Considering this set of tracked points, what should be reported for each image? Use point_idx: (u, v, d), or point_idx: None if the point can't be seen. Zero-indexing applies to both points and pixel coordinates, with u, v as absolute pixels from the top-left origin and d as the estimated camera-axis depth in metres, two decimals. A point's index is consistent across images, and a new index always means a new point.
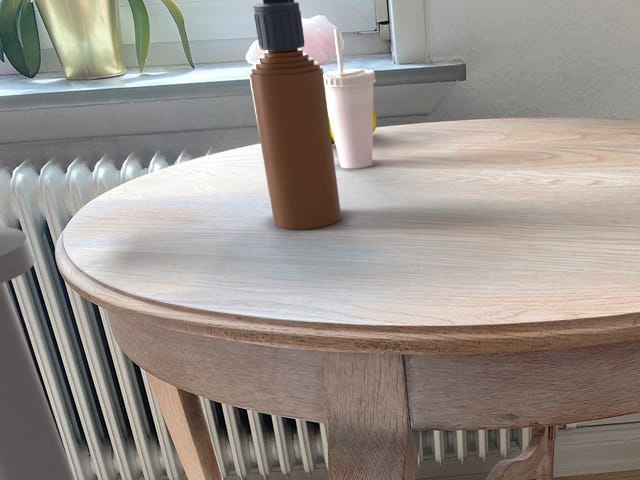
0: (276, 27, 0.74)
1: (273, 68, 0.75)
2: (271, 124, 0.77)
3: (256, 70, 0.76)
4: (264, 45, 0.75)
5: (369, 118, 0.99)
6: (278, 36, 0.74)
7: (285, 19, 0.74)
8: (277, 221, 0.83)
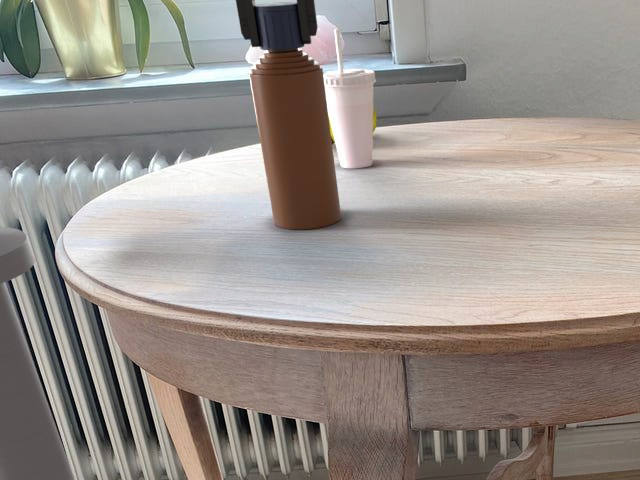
0: (276, 27, 0.74)
1: (273, 68, 0.75)
2: (271, 124, 0.77)
3: (256, 70, 0.76)
4: (264, 45, 0.75)
5: (369, 117, 0.99)
6: (278, 36, 0.74)
7: (285, 19, 0.74)
8: (277, 221, 0.83)
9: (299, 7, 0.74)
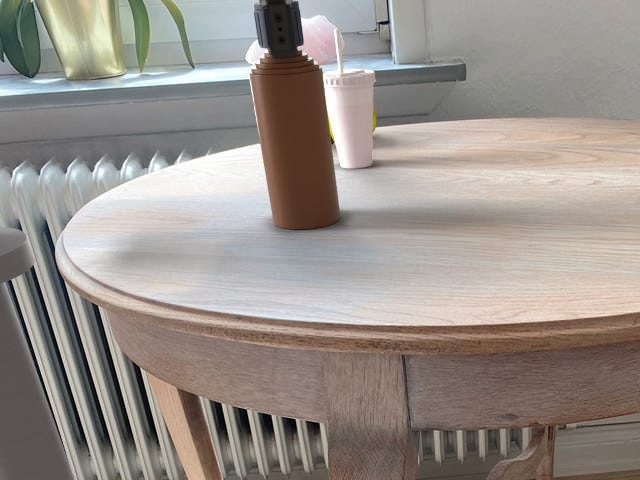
0: (300, 22, 0.76)
1: (273, 68, 0.75)
2: (270, 124, 0.77)
3: (256, 70, 0.76)
4: None
5: (369, 117, 0.99)
6: (302, 31, 0.76)
7: None
8: (276, 221, 0.83)
9: None
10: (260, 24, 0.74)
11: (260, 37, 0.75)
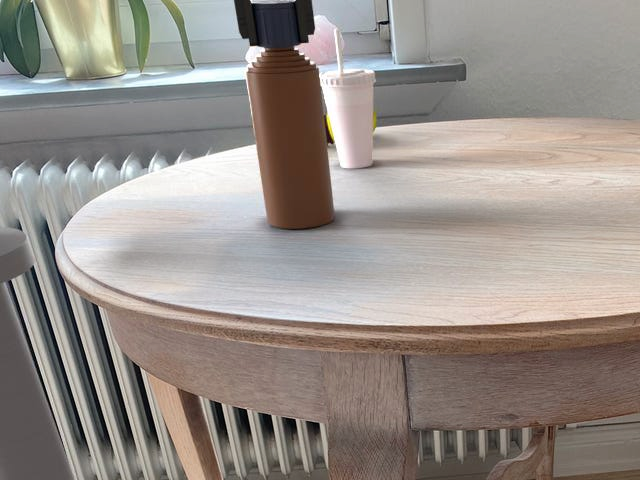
0: None
1: (269, 67, 0.75)
2: (266, 123, 0.77)
3: (252, 68, 0.76)
4: (294, 41, 0.76)
5: (369, 117, 0.99)
6: None
7: None
8: (270, 220, 0.83)
9: (298, 6, 0.74)
10: (259, 23, 0.74)
11: (258, 36, 0.75)
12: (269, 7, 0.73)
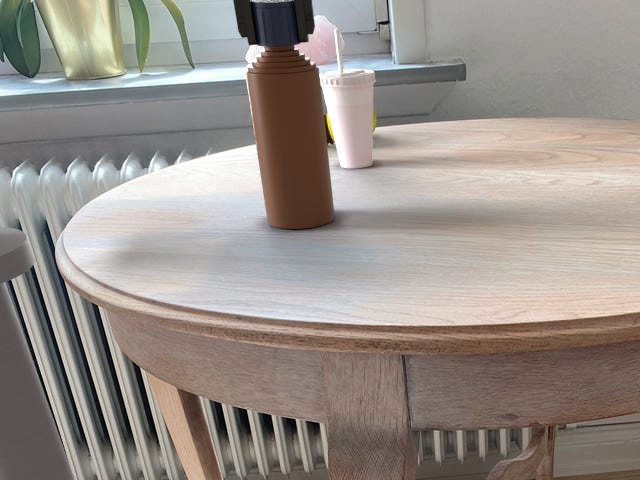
0: None
1: (269, 67, 0.75)
2: (266, 123, 0.77)
3: (252, 68, 0.76)
4: None
5: (369, 117, 0.99)
6: None
7: None
8: (270, 220, 0.83)
9: (296, 5, 0.74)
10: (290, 21, 0.74)
11: (288, 35, 0.75)
12: None
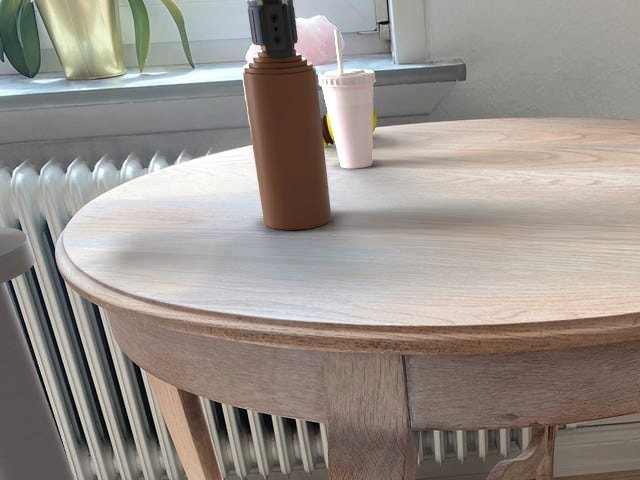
0: None
1: (266, 67, 0.75)
2: (262, 124, 0.77)
3: (249, 69, 0.76)
4: None
5: (369, 117, 0.99)
6: (251, 30, 0.75)
7: (250, 15, 0.74)
8: (267, 221, 0.83)
9: None
10: None
11: None
12: None
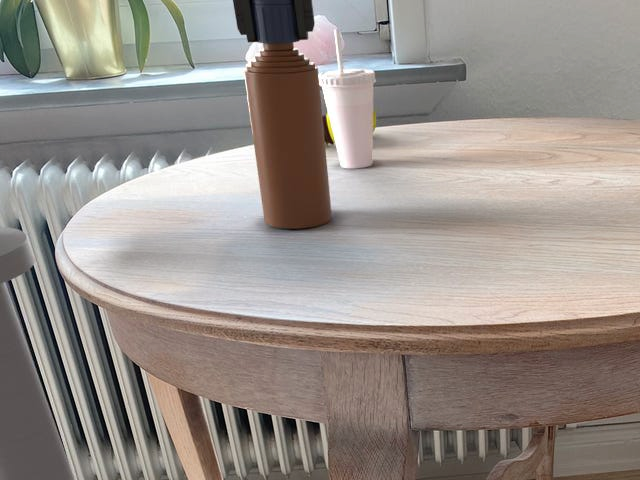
0: (275, 20, 0.74)
1: (268, 66, 0.75)
2: (264, 122, 0.77)
3: (251, 68, 0.76)
4: (261, 38, 0.75)
5: (369, 117, 0.99)
6: (277, 29, 0.74)
7: (284, 12, 0.74)
8: (267, 219, 0.83)
9: (296, 3, 0.74)
10: None
11: None
12: None
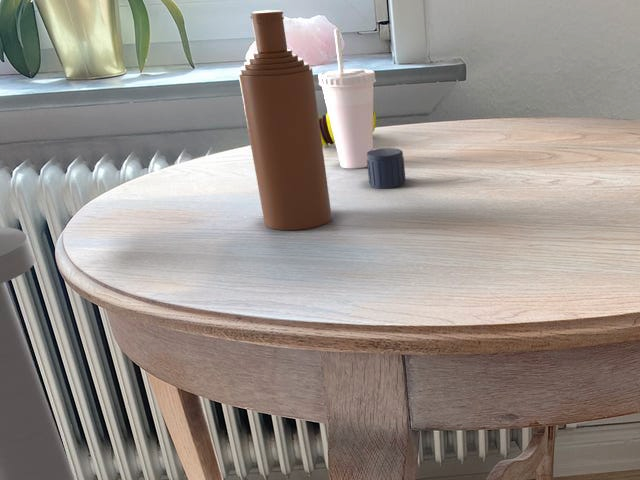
0: None
1: (262, 69, 0.75)
2: (260, 125, 0.77)
3: (245, 71, 0.76)
4: None
5: (369, 117, 0.99)
6: None
7: None
8: (267, 222, 0.83)
9: None
10: (399, 168, 0.93)
11: (398, 178, 0.94)
12: (402, 154, 0.94)
